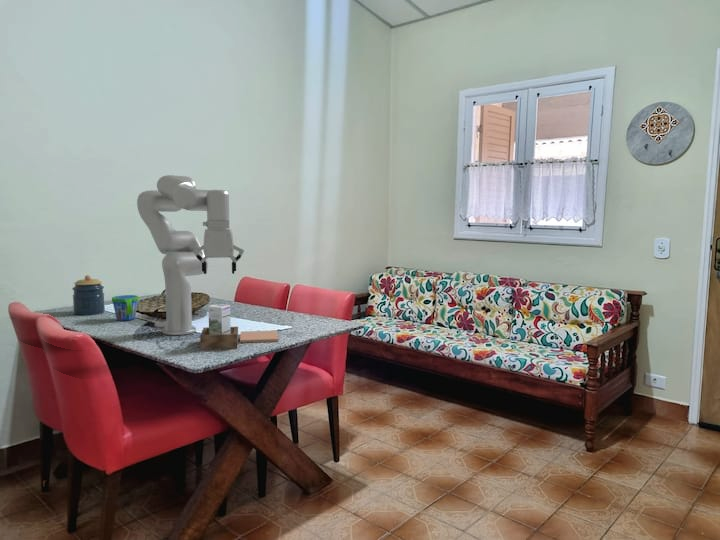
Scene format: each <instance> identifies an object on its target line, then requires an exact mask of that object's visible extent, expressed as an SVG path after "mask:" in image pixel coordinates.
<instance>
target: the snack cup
mask: <svg viewBox="0 0 720 540" xmlns="http://www.w3.org/2000/svg"><path fill="white" fill-rule="evenodd" d="M138 301H139V296H138V295H135V294H133V295H132V294H127V295H126V294H125V295H124V294H123V295H117V296H111V303H112V304H113V309H114V314H115V319H116V321H119V322H120V321H121V322H128V321H133V320H135V319H136V315H137V308H138V307H137V306H138Z"/></svg>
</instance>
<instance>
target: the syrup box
mask: <svg viewBox="0 0 720 540" xmlns="http://www.w3.org/2000/svg"><path fill="white" fill-rule="evenodd" d="M207 311H208V327H209V334H231V329H230V327H231V305H230V304H223V303H221V304H220V303H213V304H211V305H209V306H208V310H207Z"/></svg>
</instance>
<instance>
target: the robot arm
mask: <svg viewBox="0 0 720 540" xmlns="http://www.w3.org/2000/svg"><path fill="white" fill-rule="evenodd" d="M156 189H157V190H154V189H153V190H152V189H151V190H145V191H142V192H141V193H139V195H138V196H137V199H136V206H137V212H138V214H139V216H140V218H141V220H142V221H143V222H144V224H145V225H146V227H147V228H148V230H149V231H150V232H149V233H150V234H151V237H152V239H153V241H154V243H155V245H156V247H157V249H158V251H159V252H160V253H161V254H163V255H165V256H163V258H162V260H161V267H162V271H163V276H164V278H163V279H164V286H165V287H164V289H165V312H166V313H165V316H166V318H165V319H166V320H165V321H164V320H163V322H160V321H155V322H154V327H155V328H157V329H161V328H162V329H161V330H162V331H161V332H162V334H164V335H168V336H184V335H189V334H193V333H196V331H197V327H195V326H193V325H192V324H193V321H192V320H193V318H192V315H193V311H192V287H191V284H190V282H189V281H188V280H187V278H186V277H188V276H189V277H190V276H200V275H206V274H207V273H208V268H209V264H208V263H209V262H208V258H209V259H210V258H217V259H218V258H223V259H225V258H229V259H230V260H231V261H232V262H231V273H232V274H235V272H236V271H237V262H238V261H239V260H240V259H241V258H242V256H243V254H244V252H245V250H244V249H243V248H241V247H238V246H237V245H235V244H234V236H233V231H232V228H230V195H229V192H228V191H227V190H224V189H210V190H209V189H197V185H196V183H195V181H194V179H192V178H191V177H190V176H186V175H185V176H184V175H174V174H173V175H172V174H171V175H168V174H167V175H163V176H161V177H159V178H158V180H157V182H156ZM181 210H186V211H198V212H201V211H202V212H203V211H204V212H206V216H207V217H206V218H207V219H206V221H203V222H202V226H203V227H204V226H205V227H206V228H205V229H204V234H203V245H201V243H200V241H199V239H198V238H197V236H196V234H194V233H193V232H191V231H190V230H176V229H174V227H173V226H172V223H171V222H170V220H169V219H168V218H167V217H166V216H164V214H162V213H164V212H165V213H166V212H168V213H169V212H173V213H174V212H175V213H176V212H179V211H181ZM160 212H162V213H160ZM234 250H235V251H237V252H238V255H236V257H235V256H234Z"/></svg>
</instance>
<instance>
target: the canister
mask: <svg viewBox="0 0 720 540" xmlns="http://www.w3.org/2000/svg"><path fill="white" fill-rule="evenodd" d="M73 284H74V286H73V287H72V288H71V289H72V291H73V295H72V300H73V301H72V303H73V304H72V305H73V309H72V310H73V311H72V312H73V315H78V316H90V315H93V316H94V315H99V314H103V313H104V312H105V309H106V308H105V293H104V288H105V286H103V285H102V281H101V280H99V279H96V278H92V275H90V274H87V275H85V276H84V278H83V279H78V280H76V282H74V283H73Z"/></svg>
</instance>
